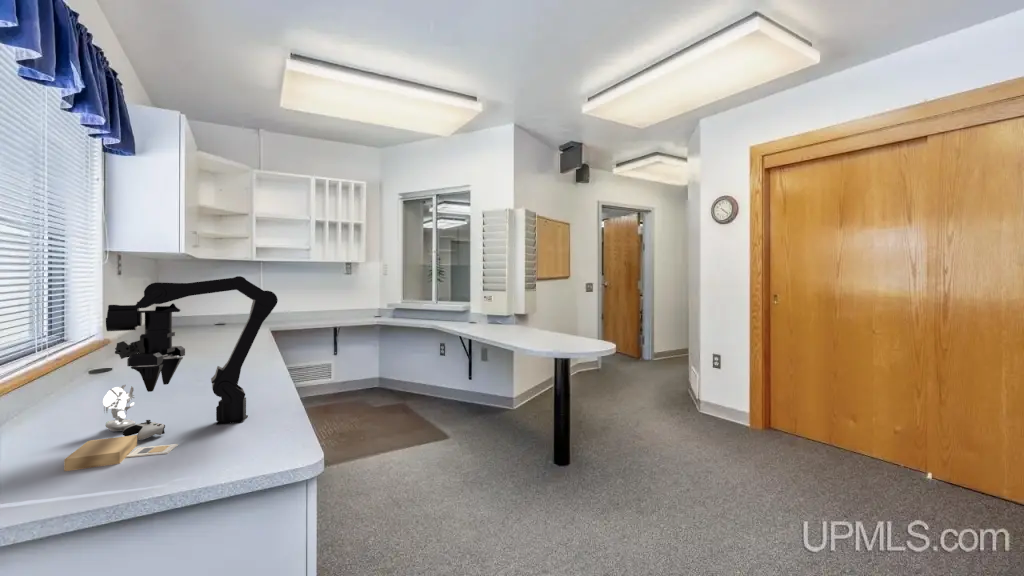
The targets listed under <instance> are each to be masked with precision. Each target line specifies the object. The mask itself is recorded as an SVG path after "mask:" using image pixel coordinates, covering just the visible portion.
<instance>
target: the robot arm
mask: <svg viewBox="0 0 1024 576" xmlns="http://www.w3.org/2000/svg"><path fill="white" fill-rule="evenodd" d="M228 291H238V292H240V293H241V294H243V295H244V296H245V297H247V298H249V299H250V300H252V303H251V305H250V306H251V307H250V312H249V317H248V319H247V320H246V321H247V322H246V323H245V325H244V327H243V329H242V331H241V334H240V335H239V338H238V340H237V342H236V343H235V345H234V348H233V350H232V351H231V354H230V356H229V358H228V359H227V361H226V363H225V364H224V365H223V366H222V367H221V366H219V365H217V367H216V369H215V373H214V375H213V376H212V377H211V378H210V380H211V381H210V383H211V386H212V387H211V388H212V391H213V393H214V395H216V396H217V397H219V398H221V399H220V400H218V401H217V402H218V405H217V406H216V412H215V416H216V418H215V419H216V420H215V421H216V423H215V424H216V426H218V425H229V424H238V423H239V424H240V423H243V422H245V420H246V419H247V418H248V416H249V414H248V415H247V397H246V392H245V390H244V388H242V387H241V386H240V385H239V380H240V375H241V371H242V367H243V365H244V362H245V360H246V359H247V356H248V354H249V352H250V350H251V348H252V346H253V344H254V341H255V339H256V337H257V335H258V333H259V331H260V329H261V327H262V325H263V323H264V322H265V320H266V319H267V318H268V317H269V315H270V314H271V313H272V312H273V310H274V309H275V307H277V303H278V301H279V300H278V297H277V295H276V294H275V293H274V292H273V291H271V290H263V289H262V288H260V287H259V286H257V285H256V284H253V283H252V282H250V281H248V279H246V278H245V277H243V276H240V275H239V276H238V275H237V276H234V277H228V278H220V279H219V278H218V279H210V280H203V281H194V282H187V283H186V282H159V281H158V282H152V283H150V284H148V285H147V286H146V287H145V289H144V291H143V296H142V298H141V299H139V301H137V302H136V303H135V304H124V305H121V304H108V305H107V314H106V317H105V328H106V332H121V331H122V332H125V331H128V332H129V331H137V328H138V327H142V324H143V314H144V333H142V334H141V335H139V340H135V341H132V342H130V341H128V340H122V341H120V342H117V343H116V347H115V348H114V349H115V351H114V354H115V355H118V356H119V358H120V360H123V359H127V360H126V362H127V367H130V369H132V370H135V371H136V372H138V373H139V375H140V377H141V379H142V381H143V383H144V386H145V388H146V391H147V392H148V393H149V392H154V390H155V387H156V384H157V383H158V379H159V377H160V375H161V379H162V384H163V385H165V386H166V385H169V384H170V381H171V379H172V378H173V377H174V374H175V373H176V370H177V368H178V367H179V365H180V363H181V361H182V360H183V358H184V356H186V348H184V347H183V346H182V345H173V337H175V336H176V332H175V331H173V313H179V312H180V311H181V308H180V307H177V305H176V303H171V304H170V305H162V304H166V303H168V302H172V301H176V300H179V299H183V298H187V297H190V296H191V297H192V296H199V295H206V294H213V293H214V294H215V293H220V292H228ZM153 305H160V306H155V309H153V310H151V309H150V310H148V309H147V308H149V307H151V306H153ZM140 309H144V310H140ZM145 309H147V310H145Z"/></svg>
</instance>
